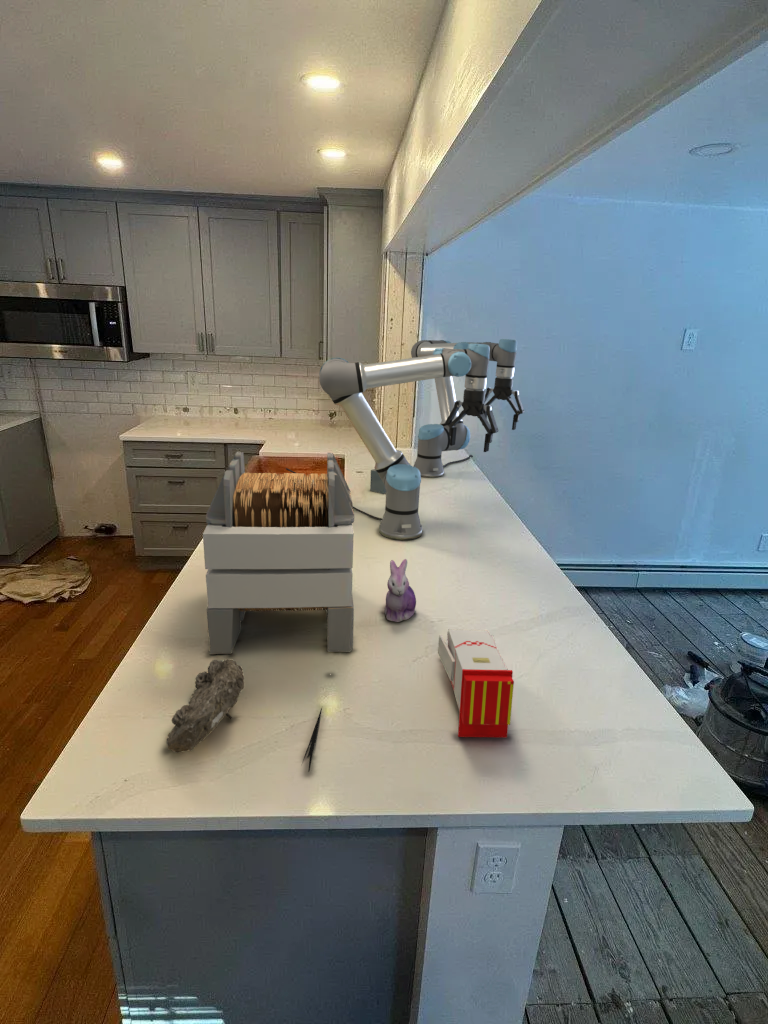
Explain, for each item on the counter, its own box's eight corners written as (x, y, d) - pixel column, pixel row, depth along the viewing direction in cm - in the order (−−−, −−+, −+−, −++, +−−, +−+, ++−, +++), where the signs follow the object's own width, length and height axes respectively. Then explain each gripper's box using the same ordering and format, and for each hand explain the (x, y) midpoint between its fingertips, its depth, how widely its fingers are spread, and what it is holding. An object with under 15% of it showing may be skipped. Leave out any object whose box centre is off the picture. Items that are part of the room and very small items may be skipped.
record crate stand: (229, 585, 158) (221, 442, 144) (346, 584, 161) (350, 444, 148) (206, 656, 126) (193, 481, 112) (353, 652, 130) (358, 483, 116)
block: (370, 490, 245) (370, 470, 242) (381, 486, 253) (382, 465, 250) (383, 494, 242) (384, 472, 239) (394, 489, 249) (395, 468, 246)
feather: (331, 679, 122) (336, 673, 122) (307, 777, 96) (313, 769, 95) (324, 675, 122) (329, 669, 121) (298, 772, 95) (304, 764, 95)
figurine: (392, 627, 141) (395, 572, 136) (374, 608, 149) (376, 556, 144) (425, 619, 145) (429, 566, 140) (405, 601, 154) (408, 550, 149)
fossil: (192, 660, 117) (244, 628, 112) (224, 691, 120) (276, 661, 115) (142, 746, 98) (202, 712, 93) (182, 779, 101) (242, 748, 96)
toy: (488, 613, 130) (523, 677, 101) (484, 667, 133) (517, 744, 104) (435, 612, 130) (455, 676, 101) (432, 666, 133) (451, 743, 103)
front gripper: (438, 386, 203) (434, 444, 210) (503, 394, 190) (496, 456, 197) (448, 384, 209) (444, 440, 216) (512, 392, 196) (504, 452, 203)
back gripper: (473, 375, 242) (468, 424, 250) (530, 381, 230) (523, 432, 238) (480, 374, 248) (475, 422, 256) (535, 379, 236) (529, 430, 244)
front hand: (468, 448), depth 207 cm, fingers open, 13 cm apart
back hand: (498, 427), depth 247 cm, fingers open, 13 cm apart
